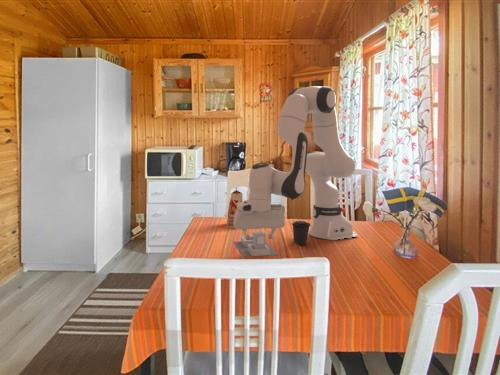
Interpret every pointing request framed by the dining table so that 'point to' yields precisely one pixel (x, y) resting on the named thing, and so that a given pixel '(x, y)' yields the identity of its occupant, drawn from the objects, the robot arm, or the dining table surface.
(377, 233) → the dining table surface
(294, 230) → the coffee cup
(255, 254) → the panel
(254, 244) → the plug
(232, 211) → the milk carton
